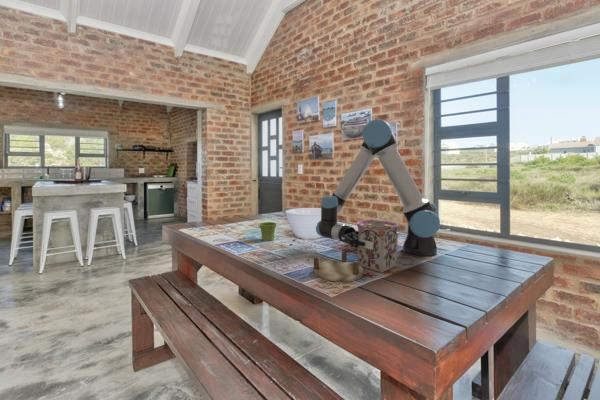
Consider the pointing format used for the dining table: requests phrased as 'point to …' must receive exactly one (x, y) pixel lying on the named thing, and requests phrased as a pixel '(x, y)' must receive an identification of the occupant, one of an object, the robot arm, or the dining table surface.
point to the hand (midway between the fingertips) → (383, 243)
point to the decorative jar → (378, 247)
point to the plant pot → (268, 230)
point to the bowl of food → (369, 222)
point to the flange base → (338, 269)
